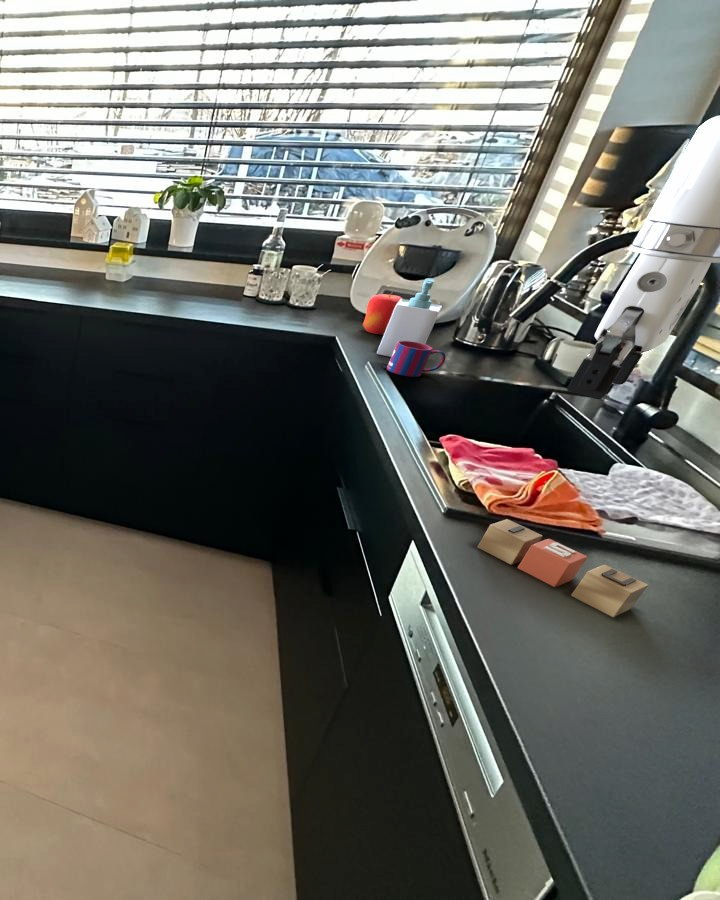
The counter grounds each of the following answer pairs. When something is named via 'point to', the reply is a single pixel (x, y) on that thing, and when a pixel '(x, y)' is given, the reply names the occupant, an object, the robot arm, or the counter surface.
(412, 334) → the soap bottle
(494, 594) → the counter surface
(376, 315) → the apple
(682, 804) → the counter surface
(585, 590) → the block
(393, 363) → the mug
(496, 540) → the block
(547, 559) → the block
